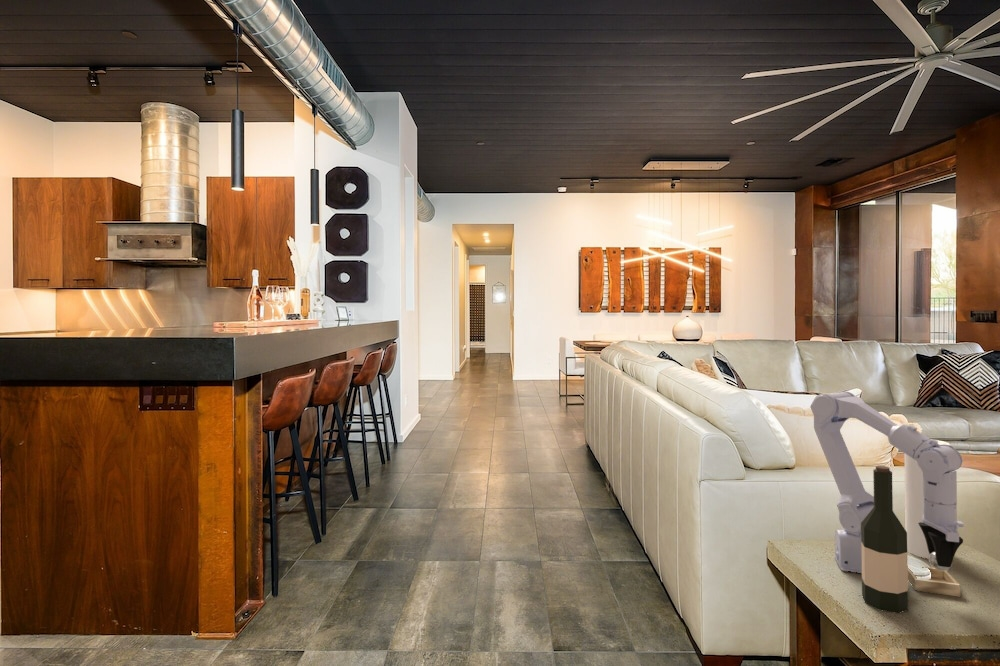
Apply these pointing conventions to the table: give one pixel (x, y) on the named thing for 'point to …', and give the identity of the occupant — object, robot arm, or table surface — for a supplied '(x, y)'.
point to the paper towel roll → (915, 507)
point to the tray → (936, 583)
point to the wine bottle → (884, 550)
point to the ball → (934, 563)
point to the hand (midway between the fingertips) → (940, 561)
